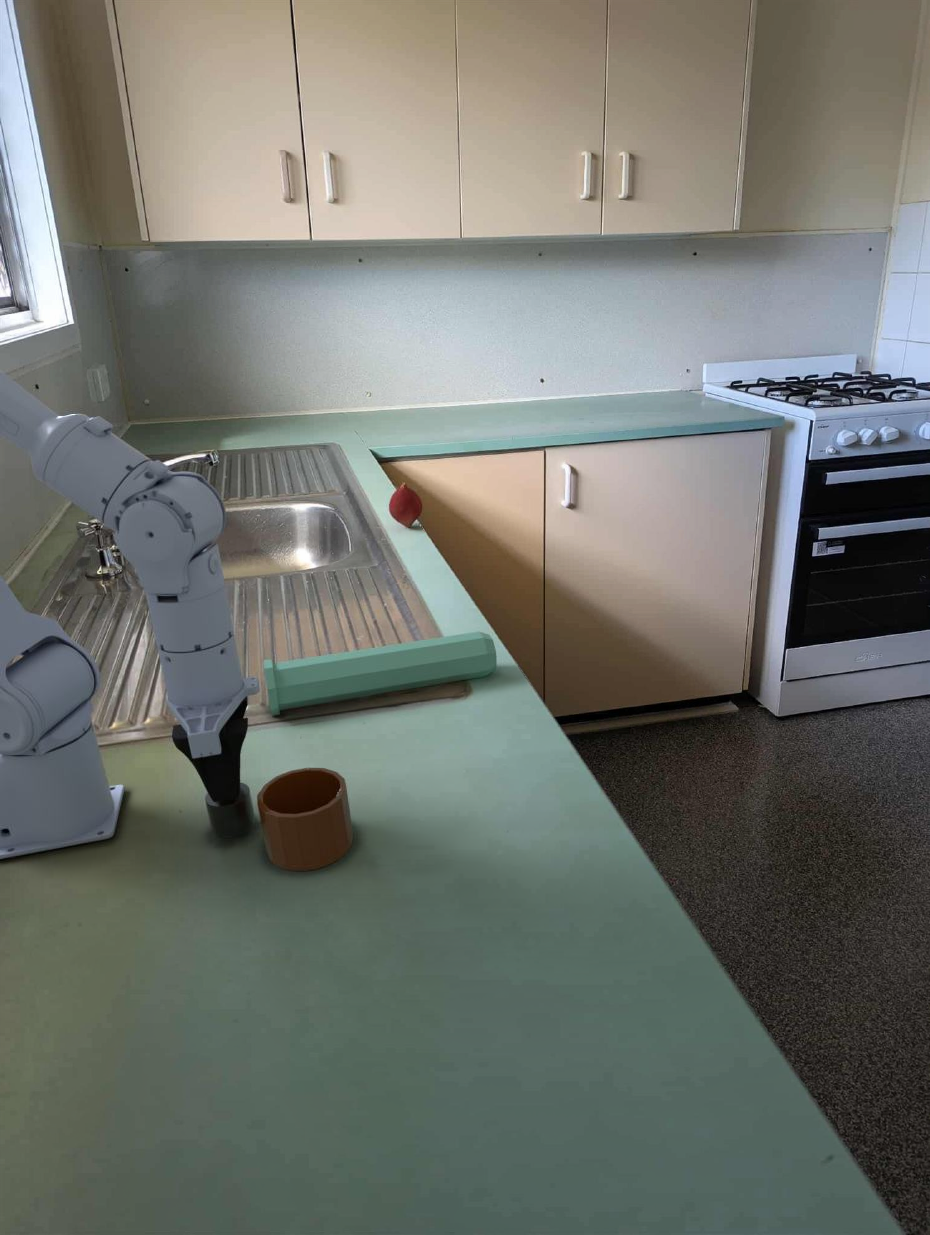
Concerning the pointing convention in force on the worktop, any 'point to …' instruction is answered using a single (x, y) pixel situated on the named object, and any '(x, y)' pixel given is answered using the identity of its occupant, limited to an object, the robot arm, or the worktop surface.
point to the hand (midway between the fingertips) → (226, 789)
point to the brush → (231, 814)
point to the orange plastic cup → (305, 818)
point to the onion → (405, 505)
